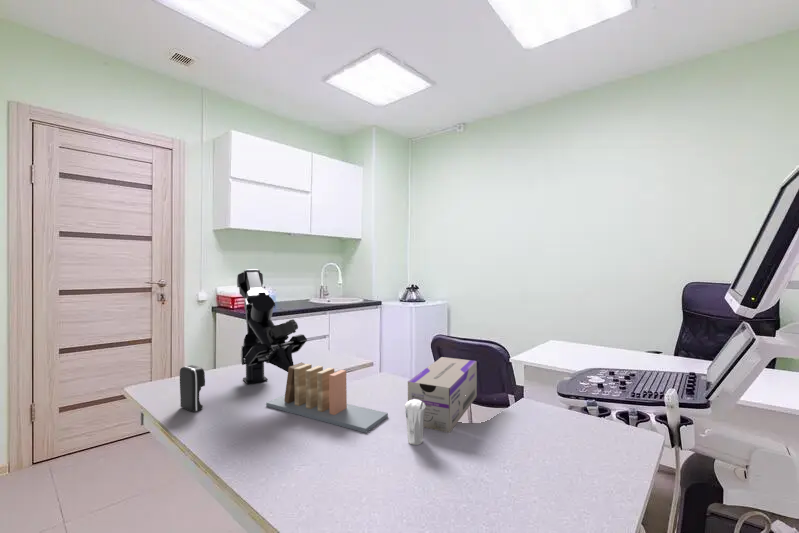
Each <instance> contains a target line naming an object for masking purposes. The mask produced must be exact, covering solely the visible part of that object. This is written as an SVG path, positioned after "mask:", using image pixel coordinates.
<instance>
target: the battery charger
mask: <svg viewBox="0 0 799 533" xmlns="http://www.w3.org/2000/svg"><path fill="white" fill-rule="evenodd" d="M205 386H206V377H205V369H204V368H203V367H201V366H197V365H193V364H191V365H187V366H186V365H185V366H183V367H181V368H180V369H179V396H180V397H179V400H180V408H182V409H185V410H187V411H189V412H192V413H194V412H198V411H200V410H203V407H204V406H203V405H202V404H201V401H200V392H201V391H202V387H205Z"/></svg>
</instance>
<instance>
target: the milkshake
mask: <svg viewBox="0 0 799 533" xmlns="http://www.w3.org/2000/svg"><path fill="white" fill-rule="evenodd" d="M425 407H426V405H425V404H424V402H422V401H421V400H418V399H412V400H409V401H408V400H407V401H406V403H404V410H405V419H406V432H407V443H409V444H410V445H412V446H419V445H421V444H423V438H424V428H425V427H424V417H425Z"/></svg>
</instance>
